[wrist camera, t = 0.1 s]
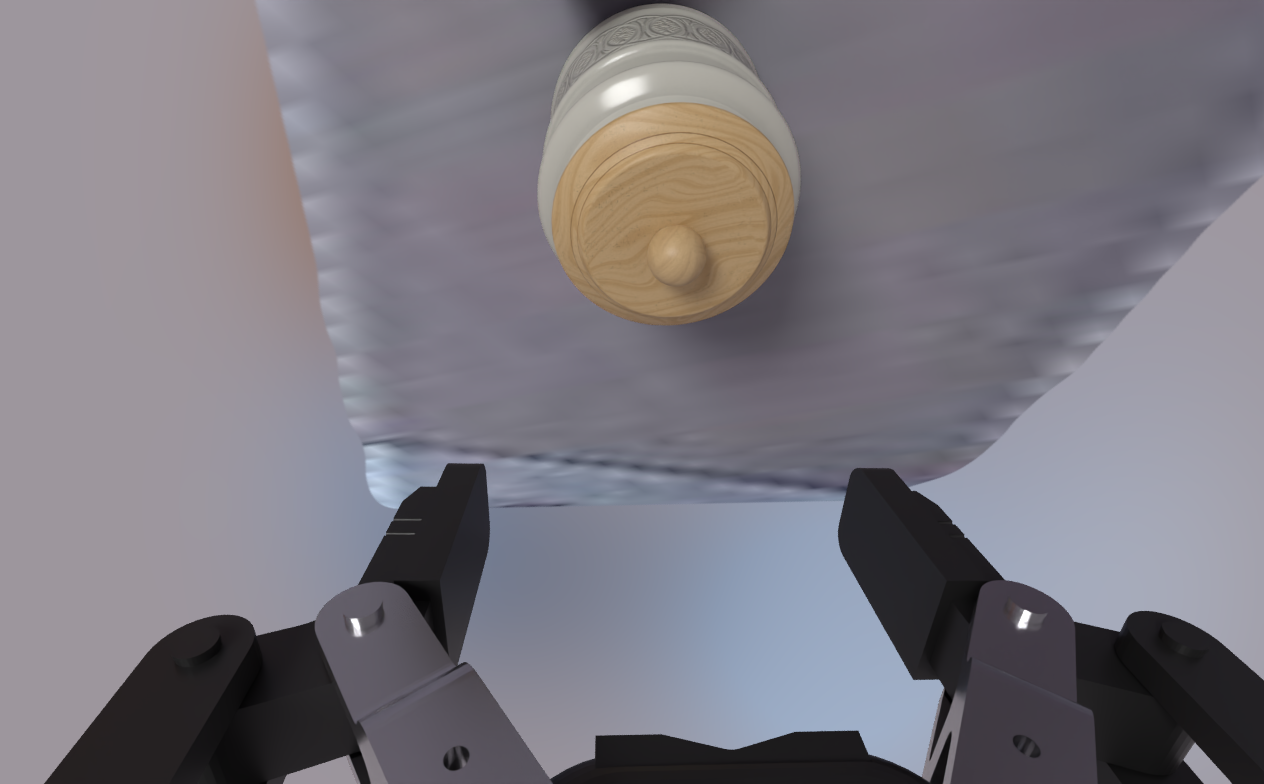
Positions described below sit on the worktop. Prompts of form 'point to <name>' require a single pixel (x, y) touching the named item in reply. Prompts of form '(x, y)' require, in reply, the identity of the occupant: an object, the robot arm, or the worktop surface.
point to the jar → (666, 168)
